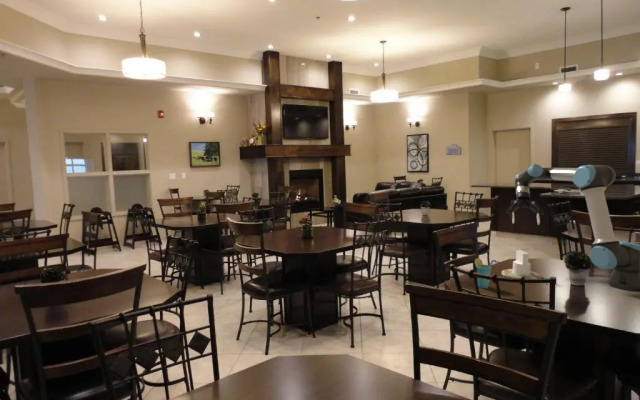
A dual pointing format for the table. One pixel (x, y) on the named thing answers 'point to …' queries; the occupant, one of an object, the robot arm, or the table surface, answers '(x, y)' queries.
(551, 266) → the table surface
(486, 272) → the cup
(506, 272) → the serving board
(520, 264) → the base with upright slab
